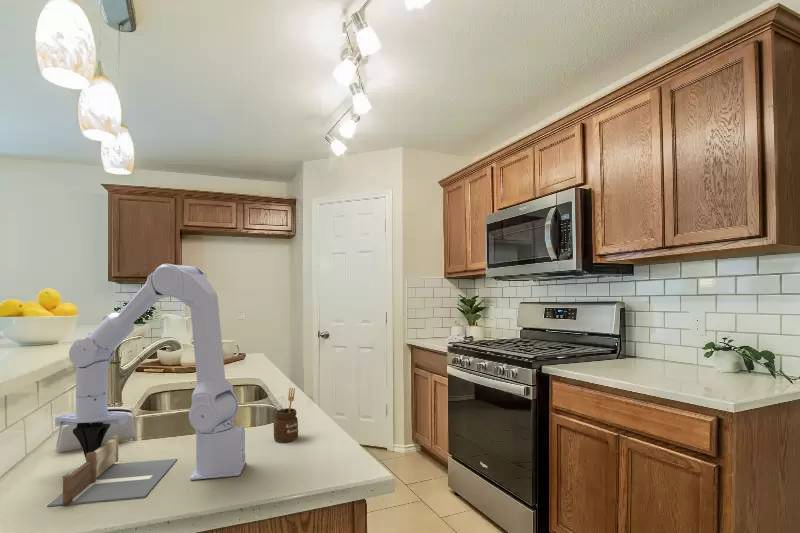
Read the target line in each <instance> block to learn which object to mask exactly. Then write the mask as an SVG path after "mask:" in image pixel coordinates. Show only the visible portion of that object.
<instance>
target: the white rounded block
mask: <svg viewBox="0 0 800 533" xmlns="http://www.w3.org/2000/svg"><path fill="white" fill-rule="evenodd" d="M108 412H117V413H128V422H127V423H125V424H120V425H119V424H110V427H109V429H108V430H107V432H106V434H105V436H104V438H103V441H102V444H101V445H104V444H105V443H107V442H108V441H109V440H111V437H112V436H116V435H117V436H118V442H120V441H125V440H126V441H127V440H130V439H135V438H136V436H137V435H136V434H137V433H136V426H135V425H136V424H135V415H134V413H133V411H132V409H131V408H130V407H124V406H123V407H121V406H108ZM76 427H77V425H62V426H59V431H58V437H57V441H56V446H55V448H56V453H58V454H60V453H63V452H69V451H75V450H79V449H82V446H81V444H80V442H79V440H78V439H77V437H76V436H75V435H74V434H73V429H75V428H76Z"/></svg>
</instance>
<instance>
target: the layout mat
mask: <svg viewBox="0 0 800 533" xmlns="http://www.w3.org/2000/svg"><path fill="white" fill-rule="evenodd" d="M177 461H178V458H170V459H168V458H167V459H158V460H144V461H134V462H133V461H132V462H122V463H121V462H119V463H113V464H112V465H111V466H110V467H109V468H107V469H106V470H105V471H104V472H103V473H101V474H100V475H99V476H98V477H96V482H94V483H92V484H89V485H88V486H87V487H86V488H85V489H84V490H82V491H81V492H80V493H79V494H78V495H76V496H75V497H74V498H73V499H72V502H71V503H70V505H69V506H71V505H81V504H92V503H103V502H105V503H106V502H111V501H112V502H113V501H125V500H136V499H145V498H147V496H148V495H149V494H150V492H151V491H152V490H154V489H155V487H156V486H157V484H158V483H159V482H160V481H161V480H162V478H163V477H165V475H166V474H167V473H168V471H169V470H170V469H171V468H172V467H173V466H174V464H175V463H176V462H177ZM61 506H63V492H62V493H61V494H60V495H59V496H57V497H56V498H55V499H53V500H52V501H51V502H50V503H48V504H47V508H51V507H61Z"/></svg>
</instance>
